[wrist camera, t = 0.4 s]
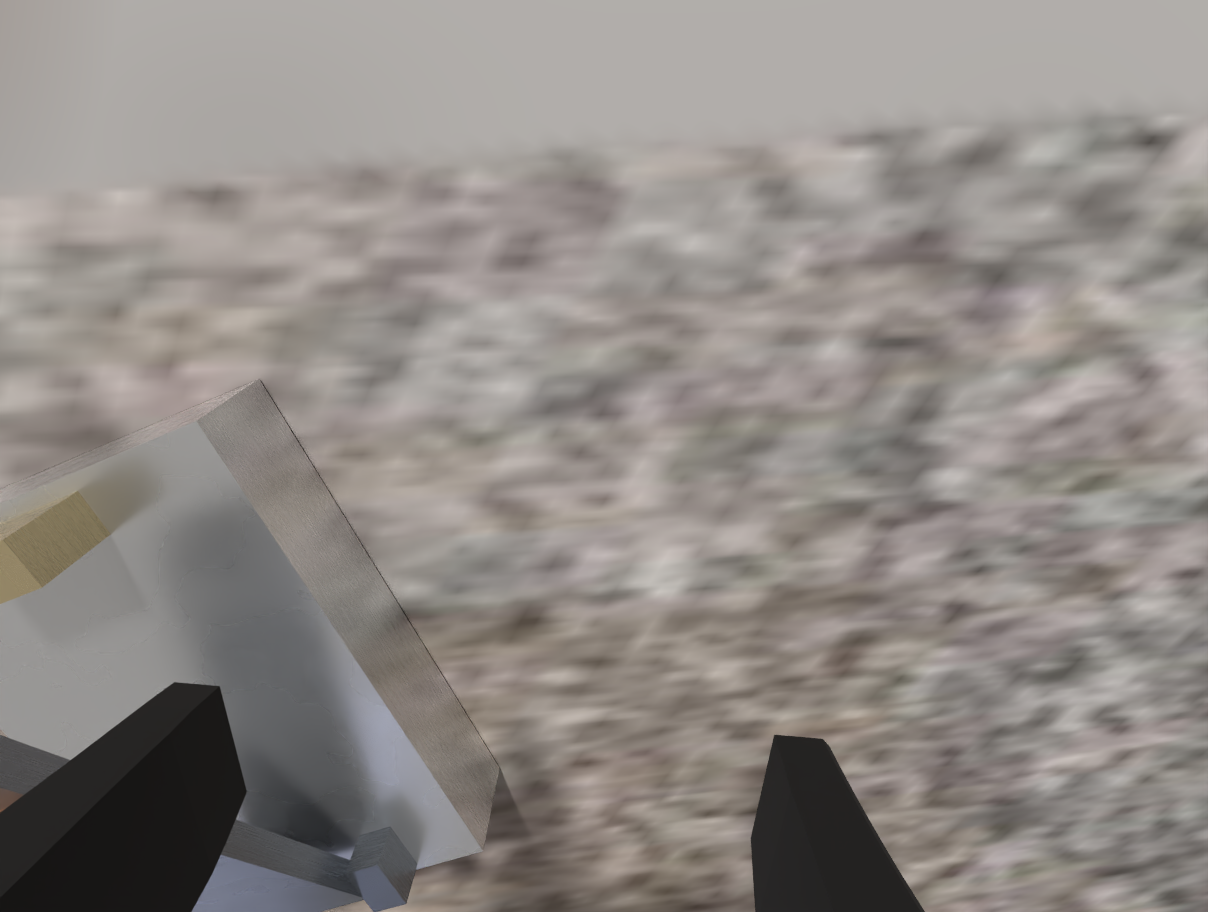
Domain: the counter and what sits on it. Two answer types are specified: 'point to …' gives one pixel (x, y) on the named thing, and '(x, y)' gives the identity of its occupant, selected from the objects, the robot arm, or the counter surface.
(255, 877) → the grey slab
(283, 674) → the base block
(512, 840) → the counter surface
